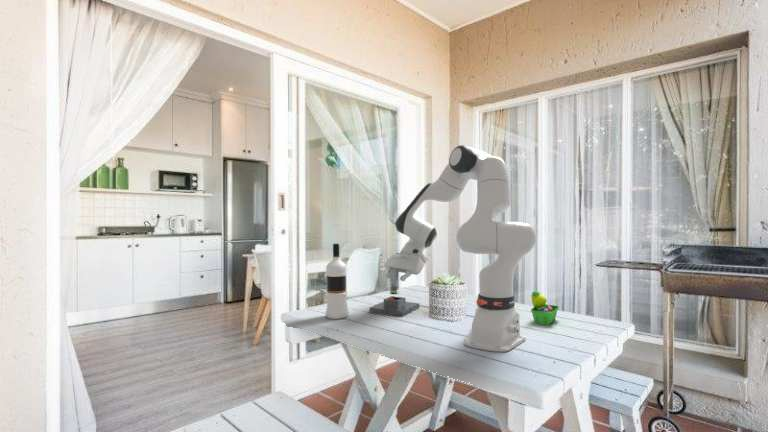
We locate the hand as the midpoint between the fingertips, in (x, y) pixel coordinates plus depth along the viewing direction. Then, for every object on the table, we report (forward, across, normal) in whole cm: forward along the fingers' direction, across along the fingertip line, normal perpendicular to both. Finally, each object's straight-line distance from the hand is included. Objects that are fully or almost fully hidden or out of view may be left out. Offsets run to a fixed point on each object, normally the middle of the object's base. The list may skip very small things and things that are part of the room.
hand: (394, 278), depth 176 cm
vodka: (+27, -8, -7) cm, 29 cm away
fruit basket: (-12, +52, +31) cm, 62 cm away
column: (+5, 0, +5) cm, 6 cm away
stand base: (+10, 0, +10) cm, 14 cm away
